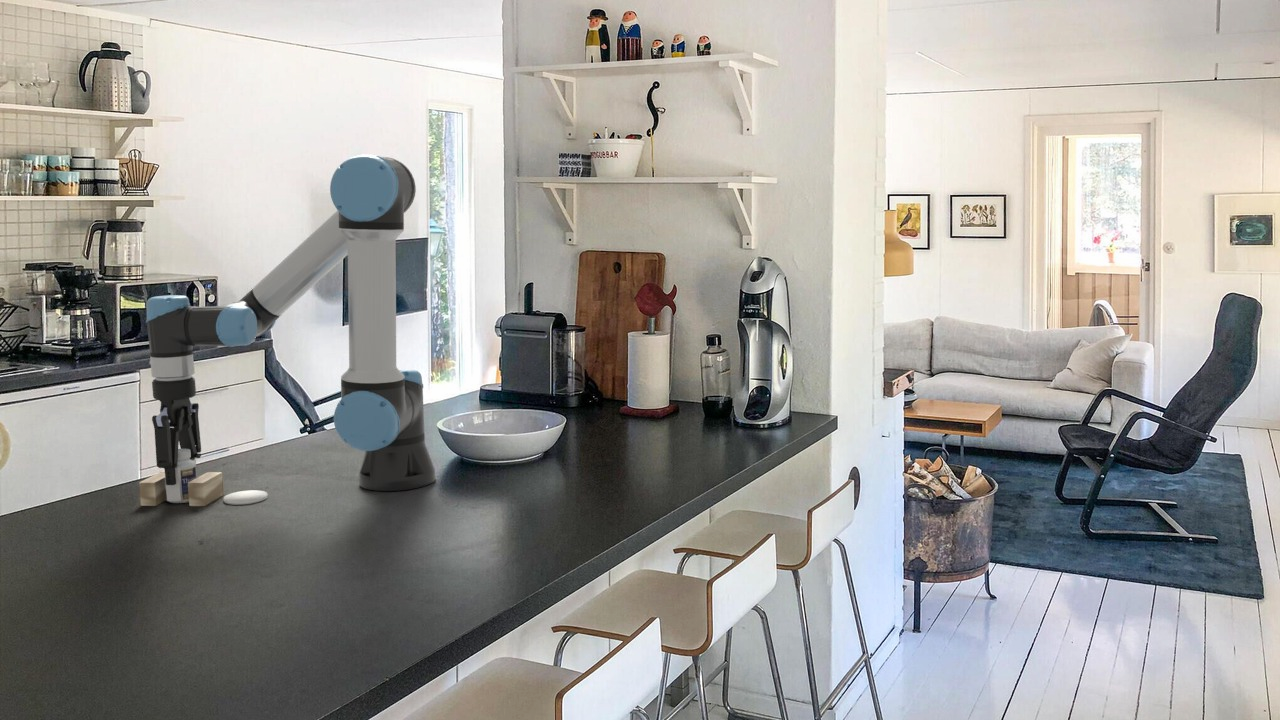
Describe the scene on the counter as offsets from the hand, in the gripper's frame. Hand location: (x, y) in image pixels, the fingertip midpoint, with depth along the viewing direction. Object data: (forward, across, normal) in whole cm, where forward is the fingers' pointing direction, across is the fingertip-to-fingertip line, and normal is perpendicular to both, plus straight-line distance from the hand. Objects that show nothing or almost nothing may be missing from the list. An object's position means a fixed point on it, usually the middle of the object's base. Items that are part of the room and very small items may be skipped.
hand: (182, 495), depth 207 cm
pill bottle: (+1, 0, 0) cm, 1 cm away
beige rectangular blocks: (+1, 0, 0) cm, 1 cm away
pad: (+1, -1, +12) cm, 12 cm away
